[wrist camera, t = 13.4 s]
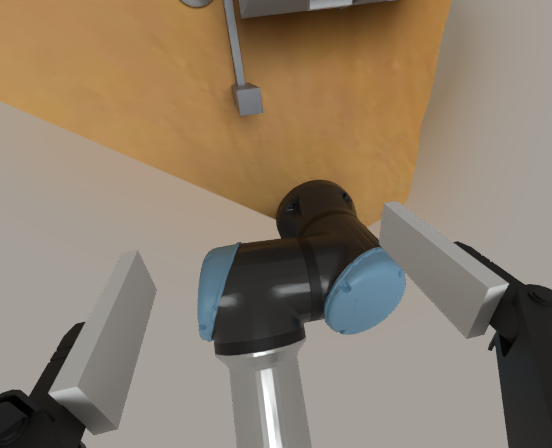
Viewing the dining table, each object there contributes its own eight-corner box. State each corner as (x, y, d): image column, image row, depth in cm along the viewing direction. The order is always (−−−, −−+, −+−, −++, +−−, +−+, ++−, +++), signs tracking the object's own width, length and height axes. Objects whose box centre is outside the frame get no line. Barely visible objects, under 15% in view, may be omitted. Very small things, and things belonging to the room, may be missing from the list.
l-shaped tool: (251, 101, 39) (263, 112, 29) (234, 104, 39) (240, 116, 29) (226, -75, 30) (230, -150, 19) (203, -73, 29) (195, -149, 19)
